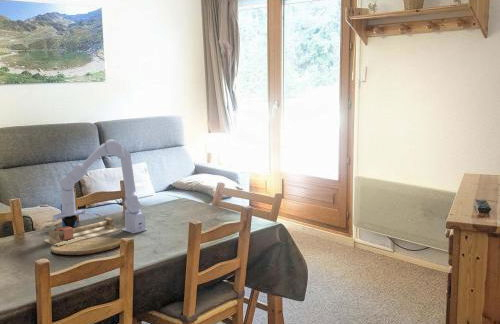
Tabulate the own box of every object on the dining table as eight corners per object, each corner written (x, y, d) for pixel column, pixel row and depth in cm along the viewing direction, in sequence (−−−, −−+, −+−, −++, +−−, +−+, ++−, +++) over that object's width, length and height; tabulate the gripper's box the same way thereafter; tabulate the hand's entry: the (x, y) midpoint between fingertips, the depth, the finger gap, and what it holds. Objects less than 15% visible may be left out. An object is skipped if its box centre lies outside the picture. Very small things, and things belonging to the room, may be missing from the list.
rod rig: (104, 226, 239) (104, 215, 239) (119, 230, 232) (118, 220, 231) (44, 241, 216) (43, 229, 216) (58, 246, 209) (57, 234, 208)
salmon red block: (65, 234, 222) (64, 225, 221) (73, 237, 218) (72, 227, 217) (57, 237, 219) (56, 227, 218) (64, 239, 215) (64, 229, 214)
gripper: (78, 199, 228) (80, 227, 230) (48, 204, 217) (50, 234, 219) (86, 201, 224) (88, 230, 226) (56, 207, 213) (58, 237, 215)
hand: (70, 232), depth 222 cm, fingers closed
